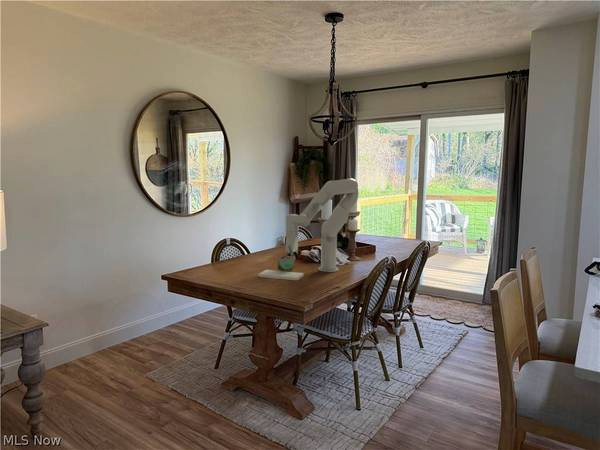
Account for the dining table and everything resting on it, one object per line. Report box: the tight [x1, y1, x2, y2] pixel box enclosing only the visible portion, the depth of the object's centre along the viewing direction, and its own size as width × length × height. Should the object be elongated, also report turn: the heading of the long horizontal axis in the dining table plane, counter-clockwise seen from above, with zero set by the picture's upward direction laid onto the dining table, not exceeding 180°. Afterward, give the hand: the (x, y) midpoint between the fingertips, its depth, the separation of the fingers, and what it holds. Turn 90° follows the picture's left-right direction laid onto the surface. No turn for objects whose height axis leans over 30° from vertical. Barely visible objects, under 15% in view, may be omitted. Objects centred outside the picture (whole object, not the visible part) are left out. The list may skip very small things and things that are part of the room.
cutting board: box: [258, 269, 305, 281], centre depth 240 cm, size 12×24×2 cm, turn 71°
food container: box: [276, 253, 296, 272], centre depth 246 cm, size 12×6×10 cm, turn 126°
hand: (292, 261), depth 257 cm, fingers open, 8 cm apart
